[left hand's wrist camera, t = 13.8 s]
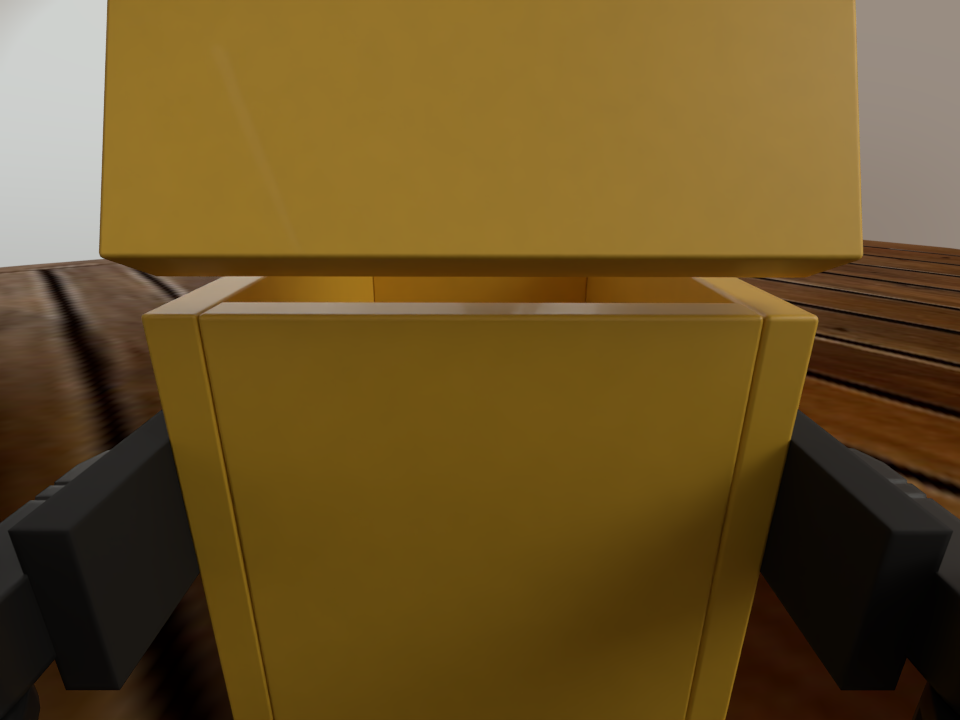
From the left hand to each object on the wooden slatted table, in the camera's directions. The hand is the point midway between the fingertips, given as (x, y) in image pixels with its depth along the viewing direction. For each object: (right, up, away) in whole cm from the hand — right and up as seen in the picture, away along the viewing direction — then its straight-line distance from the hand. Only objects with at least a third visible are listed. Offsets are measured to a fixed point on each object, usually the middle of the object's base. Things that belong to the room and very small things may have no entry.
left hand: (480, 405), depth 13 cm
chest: (0, -5, +5) cm, 7 cm away
